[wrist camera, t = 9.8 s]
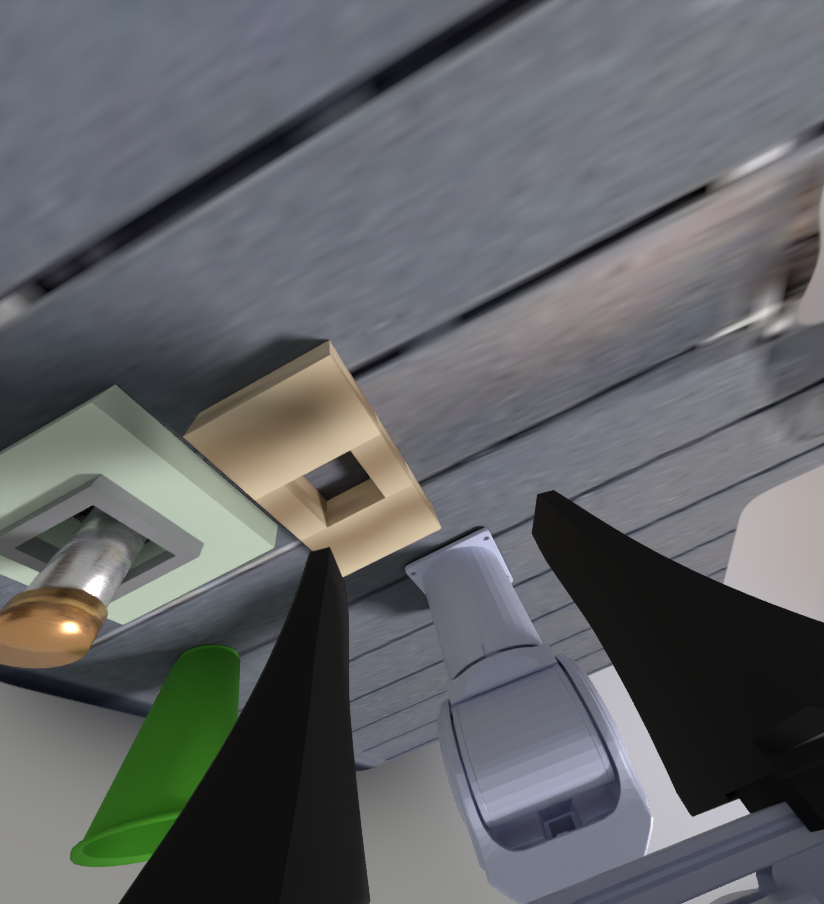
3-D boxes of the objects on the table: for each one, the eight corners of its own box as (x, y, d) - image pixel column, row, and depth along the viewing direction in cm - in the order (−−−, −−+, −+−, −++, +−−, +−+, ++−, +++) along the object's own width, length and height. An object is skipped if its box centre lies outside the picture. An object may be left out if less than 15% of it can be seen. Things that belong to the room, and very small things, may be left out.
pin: (177, 513, 20) (109, 643, 14) (133, 537, 21) (47, 676, 14) (127, 478, 18) (21, 611, 12) (79, 505, 19) (-50, 650, 12)
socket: (277, 525, 23) (272, 560, 20) (137, 598, 24) (115, 639, 21) (115, 384, 16) (77, 412, 13) (-76, 496, 17) (-145, 541, 14)
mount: (431, 504, 25) (441, 528, 23) (341, 549, 25) (342, 577, 23) (329, 339, 17) (330, 354, 15) (199, 412, 17) (182, 436, 15)
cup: (222, 690, 33) (185, 858, 24) (126, 672, 28) (34, 875, 19) (283, 648, 31) (267, 812, 22) (192, 620, 26) (125, 818, 17)
